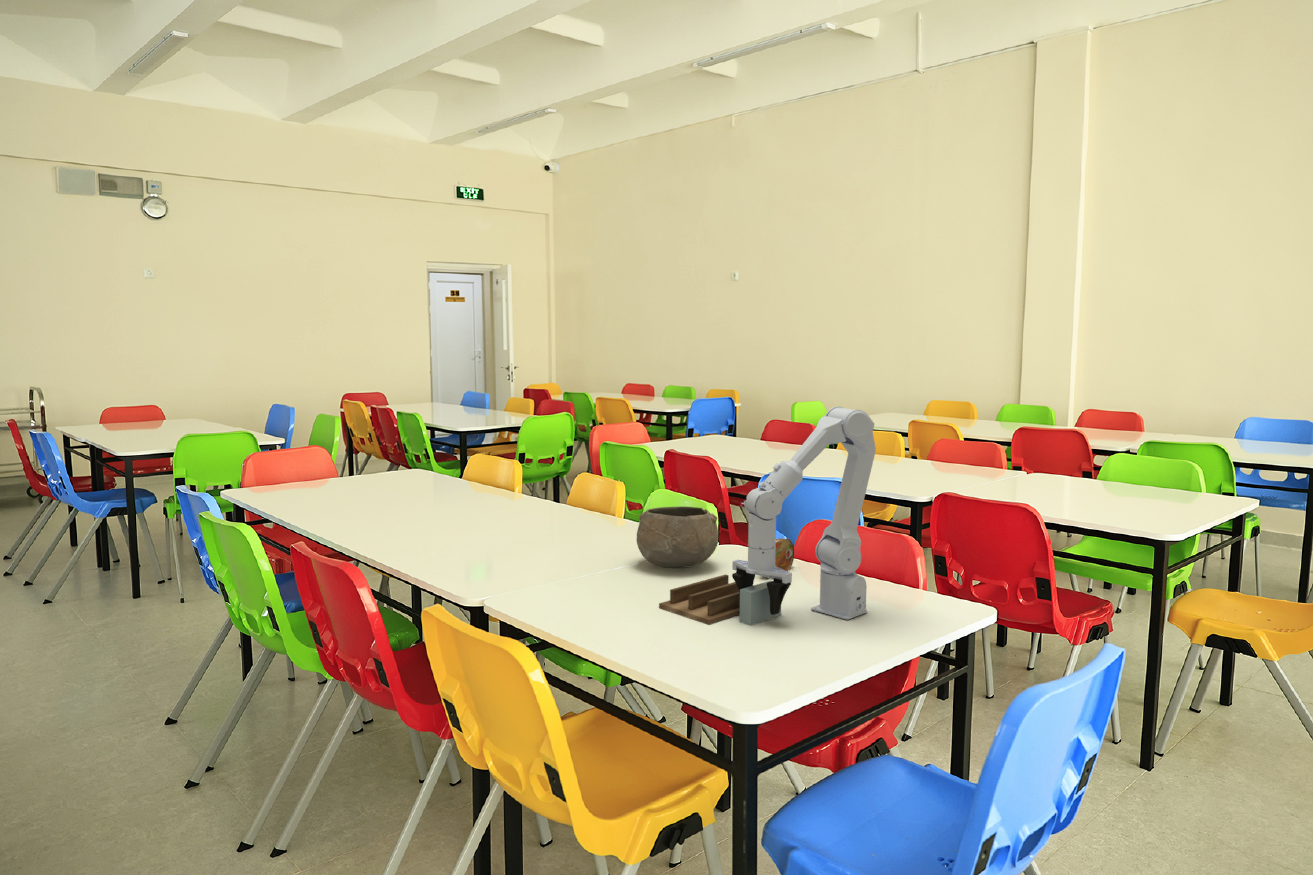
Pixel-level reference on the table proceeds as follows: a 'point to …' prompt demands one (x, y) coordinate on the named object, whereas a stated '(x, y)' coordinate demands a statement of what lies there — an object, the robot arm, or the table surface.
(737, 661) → the table surface
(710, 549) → the clay pot
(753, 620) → the grey stone cuboid
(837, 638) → the table surface
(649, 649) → the table surface
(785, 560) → the tin
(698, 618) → the rack
